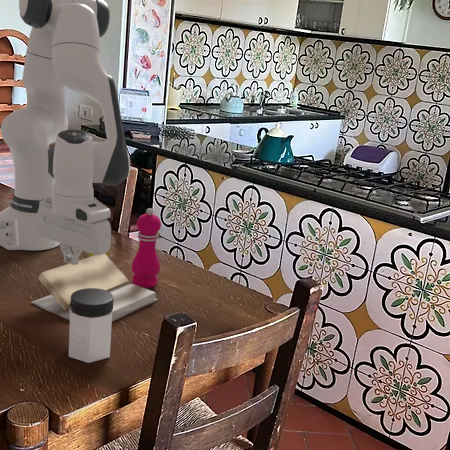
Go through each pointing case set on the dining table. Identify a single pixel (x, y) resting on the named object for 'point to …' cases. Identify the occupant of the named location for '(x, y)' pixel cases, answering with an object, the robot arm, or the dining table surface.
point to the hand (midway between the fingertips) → (71, 263)
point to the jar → (90, 324)
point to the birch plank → (82, 278)
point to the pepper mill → (146, 251)
